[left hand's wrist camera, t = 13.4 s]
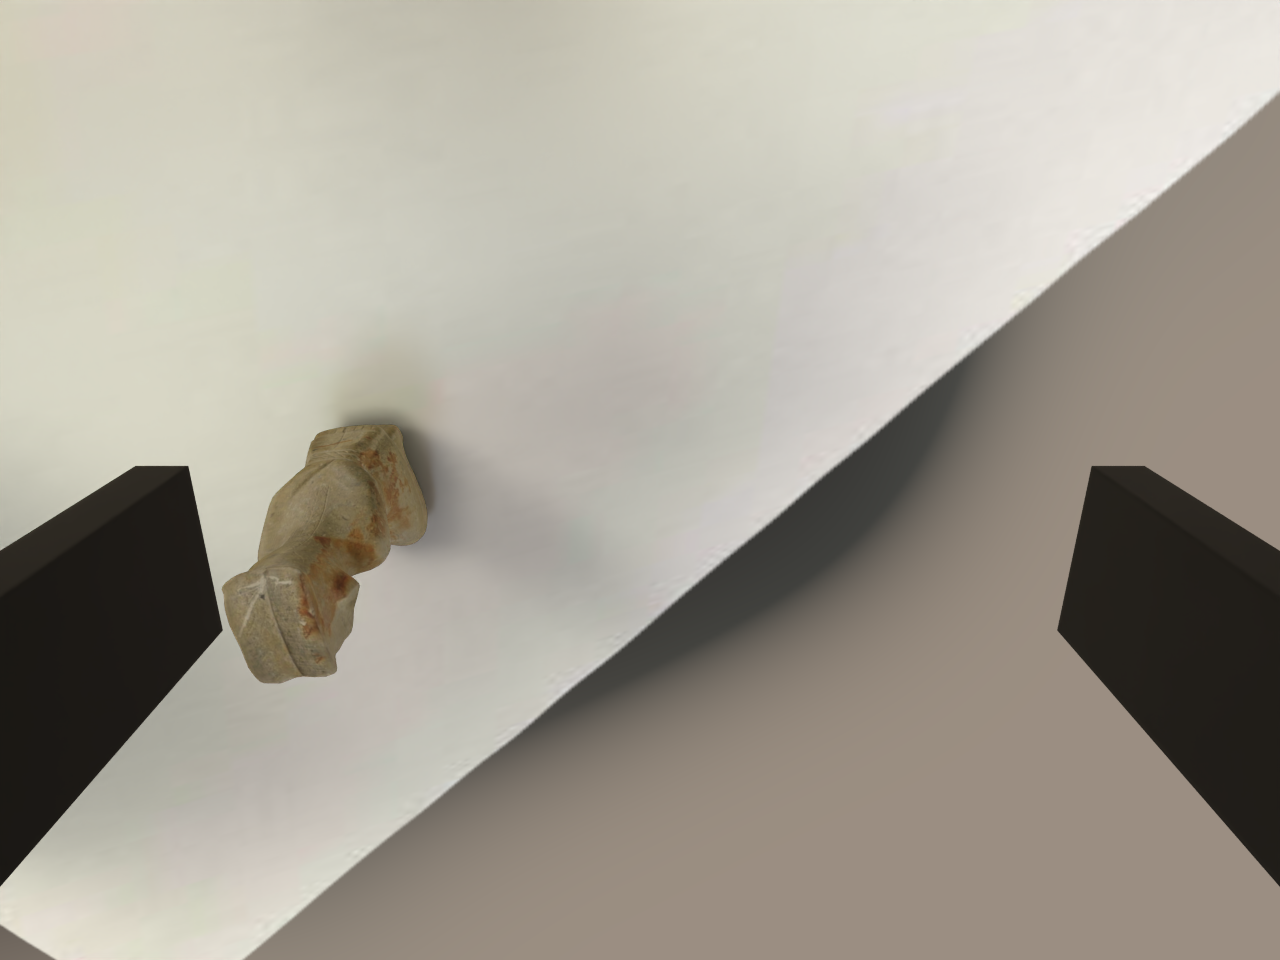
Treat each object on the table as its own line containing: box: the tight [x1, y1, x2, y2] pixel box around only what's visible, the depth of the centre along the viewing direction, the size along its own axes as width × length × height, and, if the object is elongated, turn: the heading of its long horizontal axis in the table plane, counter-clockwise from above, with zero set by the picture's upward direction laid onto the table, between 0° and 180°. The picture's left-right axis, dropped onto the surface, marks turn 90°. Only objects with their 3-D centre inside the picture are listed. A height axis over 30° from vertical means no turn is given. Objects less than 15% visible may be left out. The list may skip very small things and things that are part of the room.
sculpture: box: [222, 425, 427, 683], centre depth 38 cm, size 6×7×15 cm
